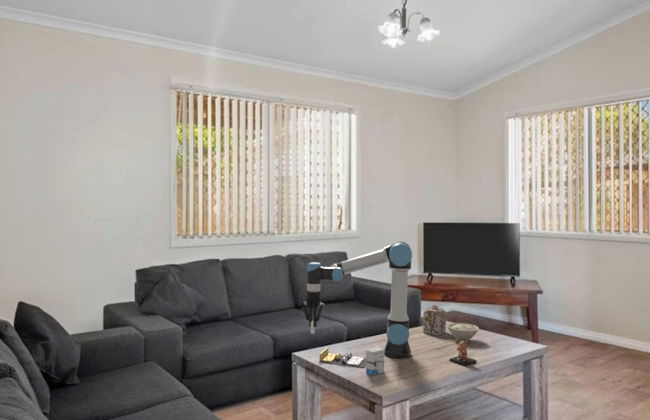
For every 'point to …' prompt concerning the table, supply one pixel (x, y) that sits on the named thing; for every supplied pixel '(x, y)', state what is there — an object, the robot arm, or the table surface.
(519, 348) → the table surface
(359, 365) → the grey two-tone fixture
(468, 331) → the bowl
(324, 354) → the loose leaf
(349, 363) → the fixed leaf
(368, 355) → the ink box
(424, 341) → the table surface
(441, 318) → the decorative jar
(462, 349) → the figurine
